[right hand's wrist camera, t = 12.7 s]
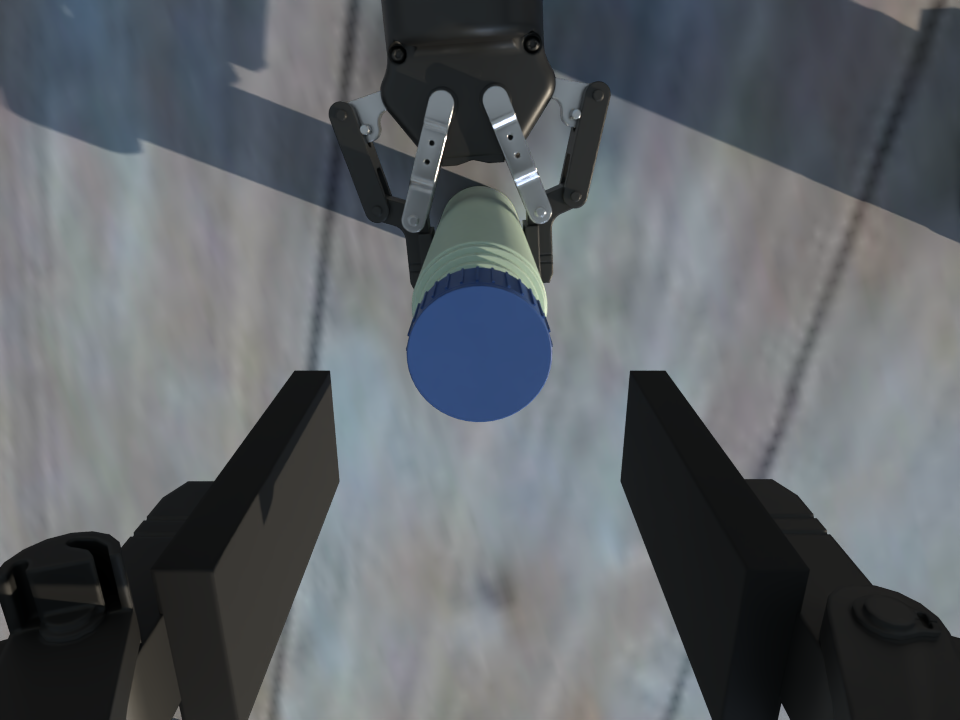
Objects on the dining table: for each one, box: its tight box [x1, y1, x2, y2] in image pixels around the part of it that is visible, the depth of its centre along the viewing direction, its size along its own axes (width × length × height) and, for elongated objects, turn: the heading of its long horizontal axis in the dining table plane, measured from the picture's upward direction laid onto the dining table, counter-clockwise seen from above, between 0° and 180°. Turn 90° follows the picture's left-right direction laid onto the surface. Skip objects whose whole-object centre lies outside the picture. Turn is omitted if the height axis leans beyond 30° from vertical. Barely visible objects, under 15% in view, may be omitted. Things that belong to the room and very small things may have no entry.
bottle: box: [412, 186, 547, 317], centre depth 30 cm, size 5×5×23 cm
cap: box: [406, 266, 553, 422], centre depth 20 cm, size 4×4×2 cm
